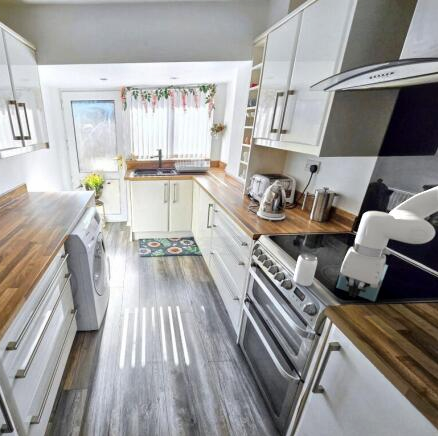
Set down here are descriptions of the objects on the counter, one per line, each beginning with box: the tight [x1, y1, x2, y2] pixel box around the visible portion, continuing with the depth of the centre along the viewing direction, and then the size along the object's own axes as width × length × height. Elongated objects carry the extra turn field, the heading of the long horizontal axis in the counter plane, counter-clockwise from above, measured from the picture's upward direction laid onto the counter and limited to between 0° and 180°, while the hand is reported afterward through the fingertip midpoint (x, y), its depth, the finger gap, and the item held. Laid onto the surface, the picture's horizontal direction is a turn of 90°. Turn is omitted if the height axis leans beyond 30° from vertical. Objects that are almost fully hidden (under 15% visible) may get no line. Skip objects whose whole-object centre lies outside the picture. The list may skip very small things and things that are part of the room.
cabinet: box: [335, 264, 389, 303], centre depth 93 cm, size 13×11×9 cm
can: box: [293, 252, 318, 287], centre depth 96 cm, size 6×6×12 cm
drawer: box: [337, 276, 380, 301], centre depth 91 cm, size 17×10×8 cm, turn 131°
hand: (352, 294), depth 84 cm, fingers closed
